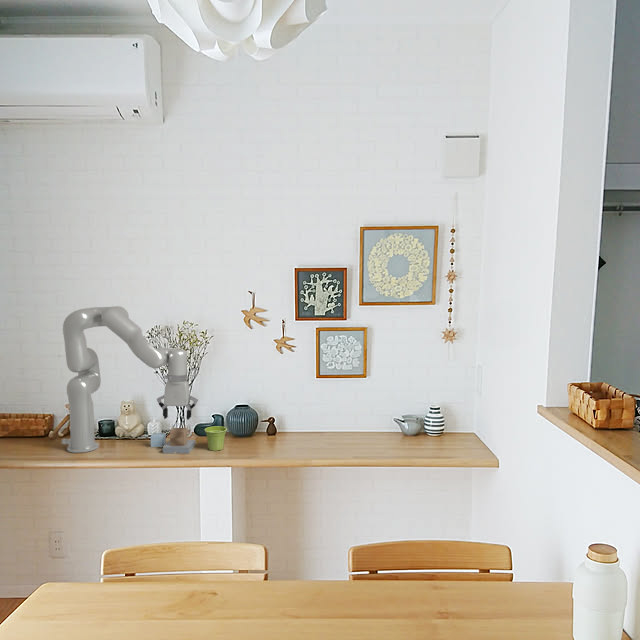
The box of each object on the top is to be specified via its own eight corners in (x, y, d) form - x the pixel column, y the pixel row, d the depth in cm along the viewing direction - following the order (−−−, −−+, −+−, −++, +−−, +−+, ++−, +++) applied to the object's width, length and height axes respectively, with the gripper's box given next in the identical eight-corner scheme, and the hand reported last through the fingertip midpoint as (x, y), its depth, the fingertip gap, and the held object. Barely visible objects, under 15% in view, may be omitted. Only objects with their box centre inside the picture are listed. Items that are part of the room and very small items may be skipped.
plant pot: (229, 446, 259) (229, 426, 258) (224, 452, 250) (223, 432, 249) (208, 445, 260) (208, 425, 259) (202, 452, 251) (201, 431, 250)
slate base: (162, 453, 249) (162, 447, 249) (170, 445, 260) (170, 439, 260) (189, 453, 249) (188, 447, 249) (195, 445, 260) (195, 440, 260)
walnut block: (170, 445, 251) (169, 431, 251) (173, 441, 257) (173, 427, 257) (184, 445, 251) (183, 431, 251) (187, 441, 257) (187, 427, 257)
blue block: (150, 447, 257) (150, 436, 257) (154, 444, 262) (154, 433, 262) (162, 447, 257) (162, 436, 257) (165, 444, 262) (165, 433, 262)
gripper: (154, 379, 248) (154, 420, 250) (195, 381, 248) (195, 421, 249) (159, 376, 256) (159, 415, 257) (199, 377, 255) (199, 417, 257)
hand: (177, 418), depth 253 cm, fingers open, 9 cm apart
